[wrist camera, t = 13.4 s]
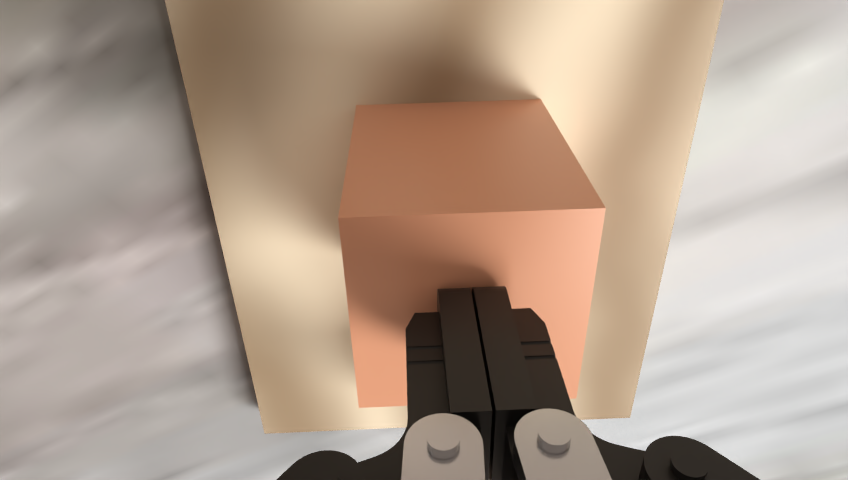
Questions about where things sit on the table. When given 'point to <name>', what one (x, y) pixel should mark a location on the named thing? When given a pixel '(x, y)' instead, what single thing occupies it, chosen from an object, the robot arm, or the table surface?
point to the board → (429, 83)
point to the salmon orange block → (462, 227)
